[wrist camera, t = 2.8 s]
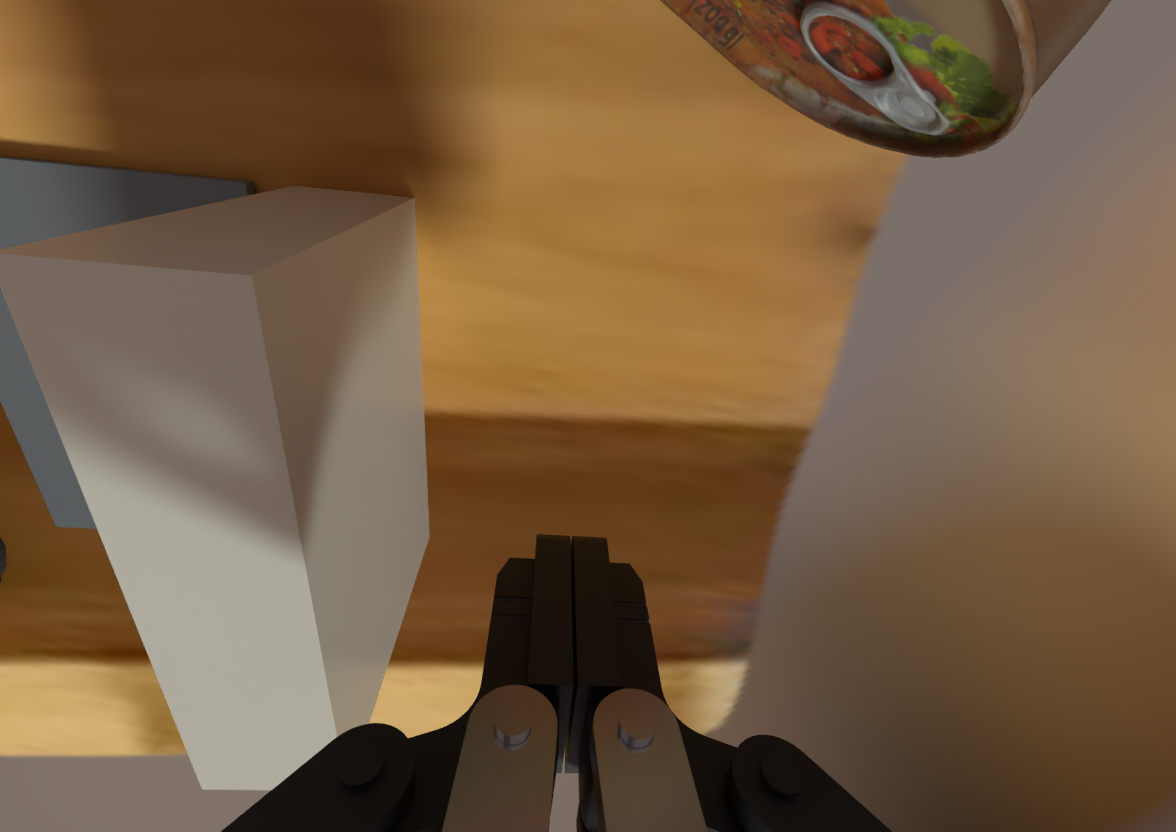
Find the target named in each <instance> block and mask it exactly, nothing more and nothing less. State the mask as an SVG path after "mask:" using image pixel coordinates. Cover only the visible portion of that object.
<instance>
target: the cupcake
mask: <svg viewBox="0 0 1176 832" xmlns="http://www.w3.org/2000/svg"><path fill="white" fill-rule="evenodd" d="M5 568H6V547H5V545H4V543H3V542H2V540H1V538H0V581H1V575H2V573H3V571H4V569H5Z"/></svg>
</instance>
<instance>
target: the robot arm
mask: <svg viewBox="0 0 1176 832" xmlns="http://www.w3.org/2000/svg"><path fill="white" fill-rule="evenodd" d="M564 750H565V773H579V805H578V811H577V818H576V829H577V832H892V831H891V830H890V829H888V828H887V827H886V826H885V825H884V824H883V823H882V822H881V821H880V820H878V819H877V818H876V817H875V816H874V815H872V813H871V812H869V811H868V810H867V809H866V808H865V807H864V806H863V805H862V804H860V803H859V802H858V801H857V800H856V799H855V798H854V797H853V796H851V795H850V794H849V793H848V792H847V791H846V790H845V789H844V788H843V787H841V786H840V785H839V784H838V783H837V782H836V781H835V780H833V778H831V777H830V776H829V775H828V774H827V773H826V772H825V771H824V770H822V769H821V768H820V767H819V766H818V765H817V764H816V763H815V762H813V761H812V760H811V759H810V758H809V757H808V756H807V755H806V754H804V753H803V752H802V751H801V750H800V749H798V748H797V747H796V746H794V745H793V744H791V743H789V742H788V741H785V740H783V739H781V738H778V737H775V736H770V735H756V736H752V737H750V738H748V739H746V740H744V741H743V742H742V743H741V744H740V745H739V746H738V748H737V747H734V746H731V745H728V744H725V743H722V742H720V741H717V740H714V739H712V738H709V737H706V736H704V735H701V734H699V733H697V732H695V731H693V730H692V729H690V728H689V727H687V726H686V725H685V724H683V723H682V722H681V721H680V720H679V719H678V718H677V717H676V716H675V715H674V713H673V712H672V711H671V709H670V708H669V706H668V704H667V703H666V700H665V698H664V695H663V692H662V687H661V682H660V676H659V671H658V665H657V660H656V654H655V649H654V643H653V637H652V632H651V626H650V624H649V615H648V610H647V607H646V599H645V593H644V588H643V582H642V581H641V579H640V578H639V576H638V575H637V574H636V572H635V571H634V569H633V568H632V566H631V565H630V564H626V563H609V554H608V545H607V539H606V538H599V537H581V536H573V537H572V541H571V540H570V536H561V535H543V534H537V537H536V549H535V559H527V558H509V560H508V561H507V562H506V564H505V565H504V567H503V568H502V569H501V571H500V572H499V573H498V575H497V580H496V587H495V594H494V601H493V608H492V615H491V621H490V628H489V635H488V642H487V648H486V655H485V662H484V669H483V675H482V682H481V687H480V691H479V693H478V696H477V698H476V700H475V701H474V703H473V705H472V706H471V707H470V708H469V710H468V711H467V712H466V713H465V714H464V715H462V716H461V717H460V718H459V719H457V720H456V721H455V722H453V723H451V724H449V725H447V726H446V727H443V728H440V729H438V730H435V731H431V732H428V733H425V734H421V735H418V736H415V737H411V738H407V737H406V736H405V734H404V733H402V732H401V731H400V730H399V729H397V728H395V727H393V726H390V725H387V724H380V723H372V724H365V725H360V726H357V727H354V728H352V729H349V730H348V731H346V732H344V733H342V734H341V735H339V736H338V737H336V738H335V739H334V740H332V741H331V742H330V743H329V744H328V745H326V746H325V747H324V748H323V749H321V750H320V751H319V752H318V753H317V754H315V755H314V756H313V757H312V758H310V759H309V760H308V761H307V762H306V763H304V764H303V765H302V766H301V767H299V768H298V769H297V770H296V771H295V772H293V773H292V774H291V775H290V776H288V777H287V778H286V779H285V780H284V781H282V782H281V783H280V784H279V785H277V786H276V787H275V788H274V789H273V790H271V791H270V792H269V793H268V794H266V795H265V796H264V797H263V798H262V799H260V800H259V801H258V802H257V803H255V804H254V805H253V806H252V807H251V808H249V809H248V810H247V811H246V812H245V813H243V814H242V815H241V816H240V817H238V818H237V819H236V820H235V821H233V822H232V823H231V824H230V825H229V826H227V827H226V828H225V829H224V830H222V831H221V832H549V822H550V814H551V807H552V799H553V792H554V785H555V777H556V773H561V771H562V764H563V757H564Z"/></svg>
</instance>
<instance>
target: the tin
mask: <svg viewBox="0 0 1176 832" xmlns="http://www.w3.org/2000/svg"><path fill="white" fill-rule="evenodd" d="M661 1H662V2H663V3H664V4H665V5H666V6H667V7H669V8H670V9H671V10H672V11H673V12H674V13H675V14H676V15H678V16H679V17H680V18H681V19H682V20H683V21H684V22H686V23H687V24H688V25H689V26H690V27H691V28H692V29H693V30H695V31H696V32H697V33H698V34H699V35H700V36H701V37H703V38H704V39H705V40H706V41H707V42H708V43H709V44H710V45H711V46H713V47H714V48H715V49H716V50H717V51H718V52H719V53H720V54H722V55H723V56H724V57H725V58H726V59H727V60H728V61H730V62H731V63H732V64H733V65H734V66H735V67H736V68H738V69H739V70H740V71H741V72H743V73H744V74H745V75H746V76H747V77H748V78H750V79H751V80H752V81H754V82H755V83H756V84H758V85H759V86H760V87H761V88H763V89H764V90H766V91H768V92H769V93H771V94H772V95H774V96H775V97H777V98H778V99H780V100H781V101H783V102H784V103H786V104H787V105H789V106H790V107H792V108H793V109H795V110H796V111H798V112H800V113H801V114H803V115H805V116H806V117H808V118H810V119H812V120H813V121H815V122H817V123H819V124H821V125H823V126H825V127H826V128H829V129H831V130H834V131H836V132H839V133H841V134H843V135H845V136H847V137H850V138H853V139H856V140H859V141H861V142H864V143H866V144H869V145H872V146H875V147H879V148H882V149H886V150H891V151H896V152H900V153H904V154H908V155H914V156H921V157H933V158H941V157H959V156H964V155H968V154H973V153H976V152H979V151H982V150H985V149H987V148H989V147H990V146H992V145H994V144H996V143H998V142H999V141H1001V140H1002V139H1004V138H1005V137H1006V136H1007V135H1008V134H1009V133H1010V132H1011V131H1012V130H1013V129H1014V128H1015V127H1016V125H1017V124H1018V122H1019V121H1020V119H1021V118H1022V116H1023V114H1024V113H1025V111H1026V109H1027V107H1028V105H1029V103H1030V100H1031V98H1032V97H1033V95H1034V94H1035V93H1036V92H1037V91H1038V90H1039V89H1040V87H1041V86H1042V85H1043V84H1044V83H1045V82H1046V80H1047V79H1048V78H1049V76H1050V75H1051V74H1052V73H1053V71H1054V70H1055V69H1056V68H1057V67H1058V66H1059V64H1060V63H1061V62H1062V61H1063V60H1064V58H1065V57H1066V56H1067V55H1068V54H1069V52H1070V51H1071V50H1072V49H1073V48H1074V47H1075V45H1076V44H1077V43H1078V42H1079V41H1080V40H1081V38H1082V37H1083V36H1084V35H1085V34H1086V33H1087V31H1088V30H1089V29H1090V28H1091V26H1092V25H1093V23H1094V22H1095V21H1096V20H1097V19H1098V18H1099V16H1100V15H1101V14H1102V12H1103V11H1104V9H1105V8H1106V7H1107V5H1108V4H1109V2H1110V1H1111V0H661Z"/></svg>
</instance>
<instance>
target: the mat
mask: <svg viewBox="0 0 1176 832" xmlns="http://www.w3.org/2000/svg"><path fill="white" fill-rule="evenodd" d="M253 194H255V192H254V186H253V182H251V181H241V180H231V179H221V178H212V177H202V176H192V175H182V174H172V173H162V172H152V171H142V170H132V169H123V168H113V167H103V166H93V165H83V164H73V163H63V162H53V161H44V160H34V159H24V158H14V157H4V156H0V249H4V248H9V247H13V246H18V245H22V244H27V243H32V242H36V241H41V240H46V239H50V238H55V237H59V236H64V235H69V234H73V233H78V232H82V231H87V230H92V229H96V228H101V227H106V226H110V225H115V224H119V223H124V222H129V221H133V220H138V219H142V218H147V217H152V216H156V215H161V214H166V213H170V212H175V211H179V210H184V209H189V208H193V207H198V206H202V205H207V204H212V203H216V202H221V201H226V200H230V199H235V198H239V197H244V196H249V195H253ZM0 401H1V404H2V406H3V408H4V410H5V413H6V415H7V417H8V419H9V422H10V424H11V426H12V428H13V431H14V433H15V435H16V437H17V440H18V442H19V444H20V446H21V449H22V451H23V453H24V455H25V458H26V460H27V462H28V464H29V467H30V469H31V471H32V473H33V476H34V478H35V480H36V482H37V485H38V487H39V489H40V491H41V493H42V496H43V498H44V500H45V502H46V505H47V507H48V509H49V511H50V514H51V516H52V518H53V520H54V523H55V525H56V527H74V528H94V529H97V527H96V525H95V522H94V520H93V517H92V515H91V512H90V510H89V507H88V505H87V502H86V500H85V497H84V495H83V492H82V490H81V487H80V485H79V482H78V480H77V477H76V475H75V472H74V470H73V467H72V465H71V462H70V460H69V457H68V455H67V452H66V450H65V448H64V445H63V443H62V440H61V438H60V435H59V433H58V430H57V428H56V425H55V423H54V420H53V418H52V415H51V413H50V410H49V408H48V405H47V403H46V400H45V398H44V395H43V393H42V390H41V388H40V385H39V383H38V380H37V378H36V375H35V373H34V370H33V368H32V366H31V363H30V361H29V358H28V356H27V353H26V351H25V348H24V346H23V343H22V341H21V338H20V336H19V333H18V331H17V328H16V326H15V323H14V321H13V318H12V316H11V313H10V311H9V308H8V306H7V303H6V301H5V298H4V296H3V293H2V291H1V288H0Z"/></svg>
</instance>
